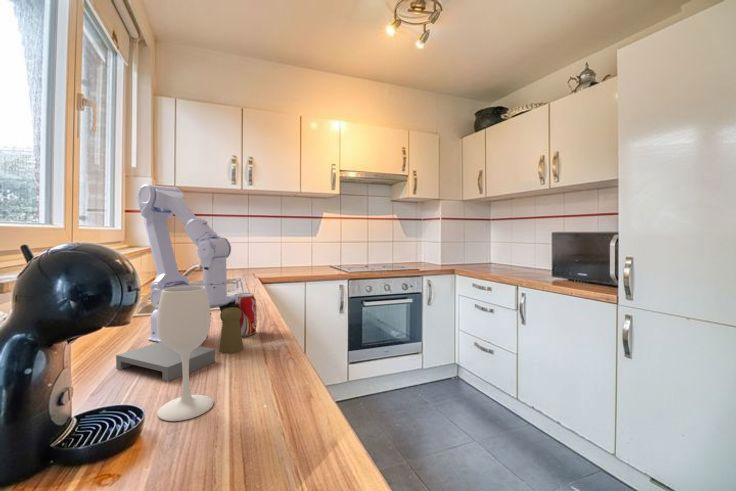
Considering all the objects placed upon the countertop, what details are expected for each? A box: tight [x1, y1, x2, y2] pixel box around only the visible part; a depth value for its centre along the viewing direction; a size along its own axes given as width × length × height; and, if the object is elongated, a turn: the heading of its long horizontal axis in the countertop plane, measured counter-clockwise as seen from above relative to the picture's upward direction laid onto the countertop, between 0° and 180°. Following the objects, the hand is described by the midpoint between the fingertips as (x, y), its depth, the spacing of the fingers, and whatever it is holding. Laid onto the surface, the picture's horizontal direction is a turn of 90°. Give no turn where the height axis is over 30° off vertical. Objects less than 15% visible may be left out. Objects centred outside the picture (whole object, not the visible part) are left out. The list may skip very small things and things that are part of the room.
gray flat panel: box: [115, 341, 216, 383], centre depth 80 cm, size 17×12×3 cm
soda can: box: [234, 292, 258, 338], centre depth 105 cm, size 7×7×12 cm
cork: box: [218, 307, 244, 355], centre depth 91 cm, size 6×6×11 cm
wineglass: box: [156, 285, 214, 422], centre depth 60 cm, size 9×9×21 cm
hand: (215, 334), depth 93 cm, fingers open, 7 cm apart
